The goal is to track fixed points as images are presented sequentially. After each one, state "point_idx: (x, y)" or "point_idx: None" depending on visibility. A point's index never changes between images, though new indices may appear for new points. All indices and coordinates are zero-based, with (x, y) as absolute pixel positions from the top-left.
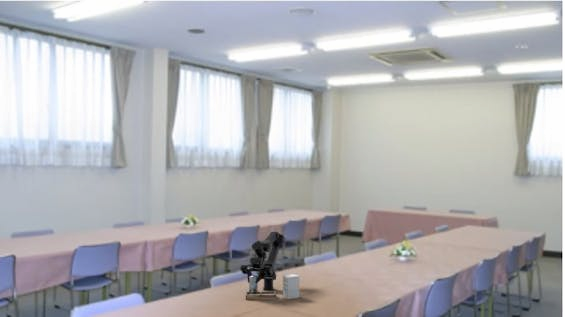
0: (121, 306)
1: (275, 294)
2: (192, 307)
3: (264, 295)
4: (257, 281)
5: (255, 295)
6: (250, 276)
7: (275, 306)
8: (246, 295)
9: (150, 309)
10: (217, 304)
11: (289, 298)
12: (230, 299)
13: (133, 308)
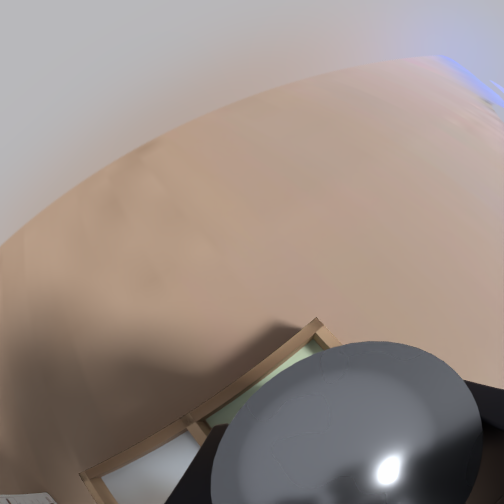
0: (471, 78)
1: (91, 488)
2: (377, 97)
3: (157, 433)
4: (208, 452)
5: (233, 383)
6: (403, 371)
7: (44, 294)
8: (310, 322)
9: (420, 70)
10: (354, 150)
11: (41, 495)
12: (409, 264)
13: (445, 71)
